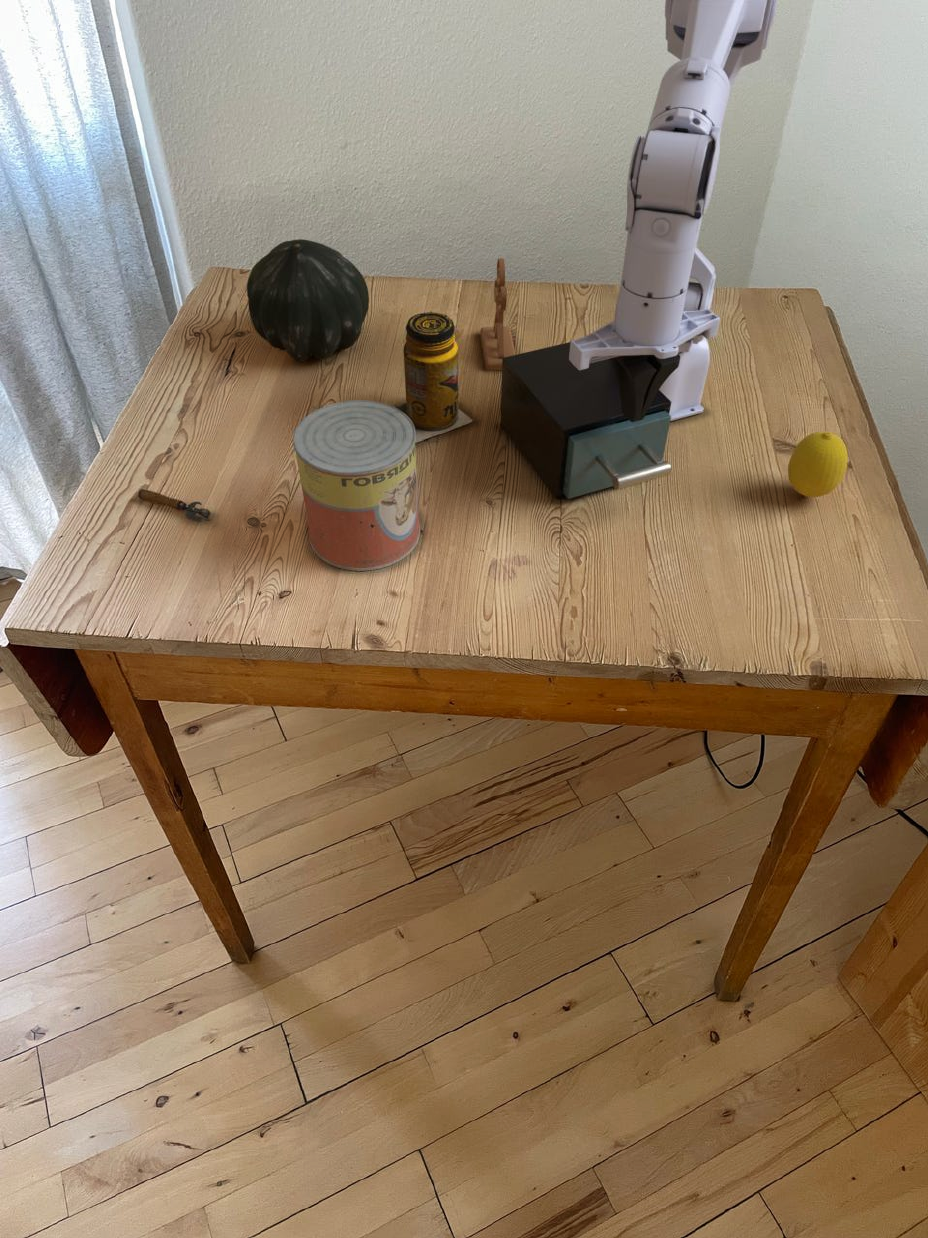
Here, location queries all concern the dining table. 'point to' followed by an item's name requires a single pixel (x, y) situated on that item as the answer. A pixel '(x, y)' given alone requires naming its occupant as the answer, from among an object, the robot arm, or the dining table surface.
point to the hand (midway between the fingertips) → (632, 415)
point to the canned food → (359, 483)
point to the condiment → (431, 376)
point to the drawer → (617, 455)
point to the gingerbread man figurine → (497, 327)
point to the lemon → (817, 464)
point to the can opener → (176, 505)
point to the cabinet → (557, 406)
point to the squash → (307, 299)
